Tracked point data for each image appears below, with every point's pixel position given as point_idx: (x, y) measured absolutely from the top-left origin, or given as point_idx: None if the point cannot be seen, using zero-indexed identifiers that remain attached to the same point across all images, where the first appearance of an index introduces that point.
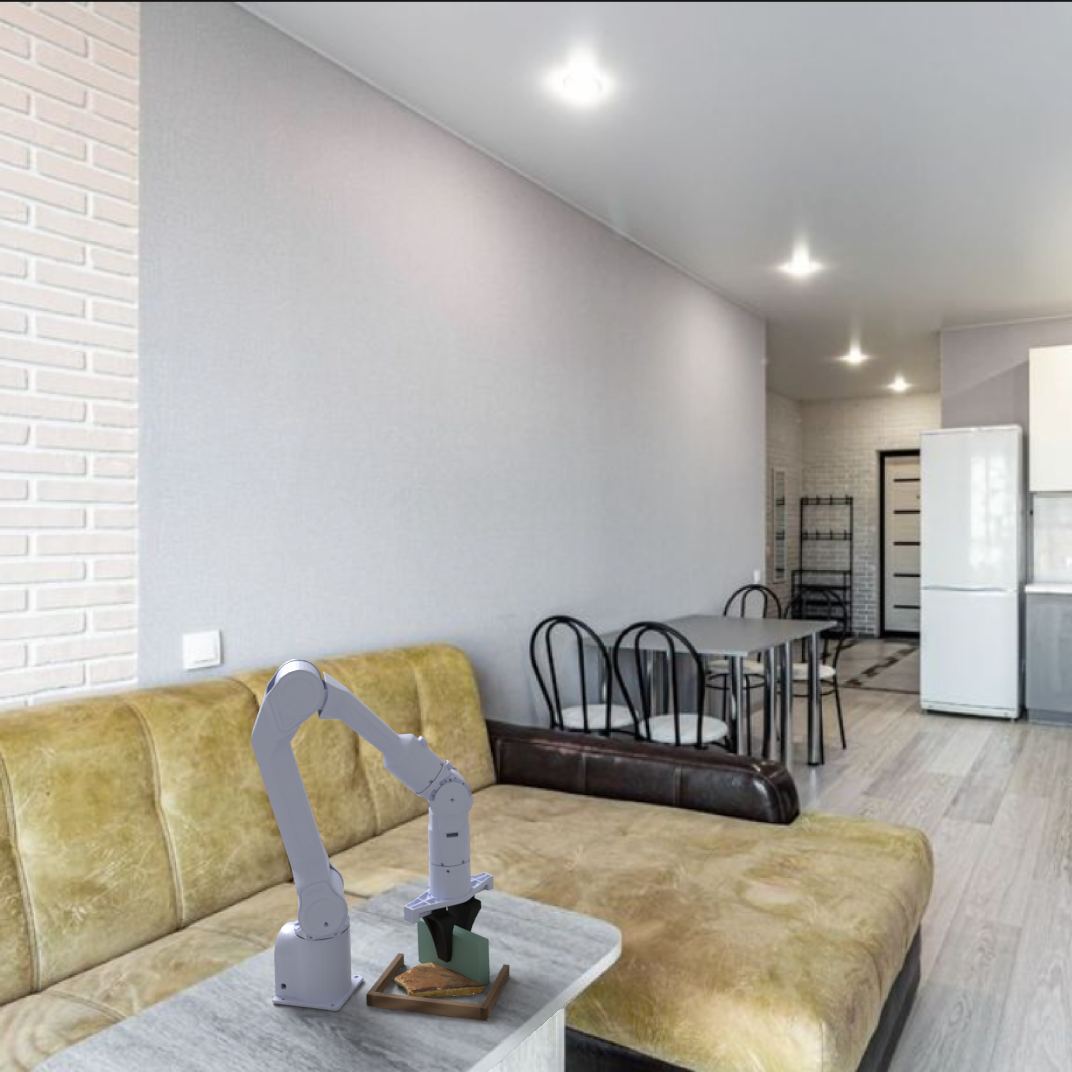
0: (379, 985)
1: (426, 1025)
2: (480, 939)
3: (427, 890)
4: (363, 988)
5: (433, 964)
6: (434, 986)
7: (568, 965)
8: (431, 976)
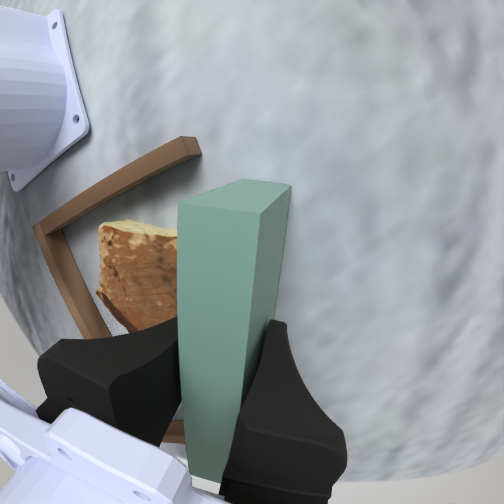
0: (58, 225)
1: None
2: (215, 474)
3: (20, 447)
4: (75, 159)
5: None
6: None
7: (390, 466)
8: (160, 308)
